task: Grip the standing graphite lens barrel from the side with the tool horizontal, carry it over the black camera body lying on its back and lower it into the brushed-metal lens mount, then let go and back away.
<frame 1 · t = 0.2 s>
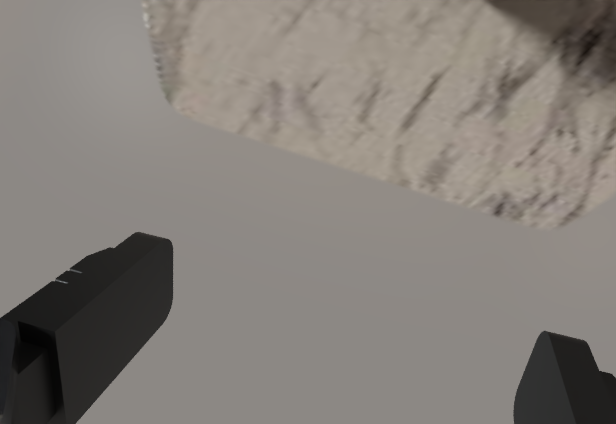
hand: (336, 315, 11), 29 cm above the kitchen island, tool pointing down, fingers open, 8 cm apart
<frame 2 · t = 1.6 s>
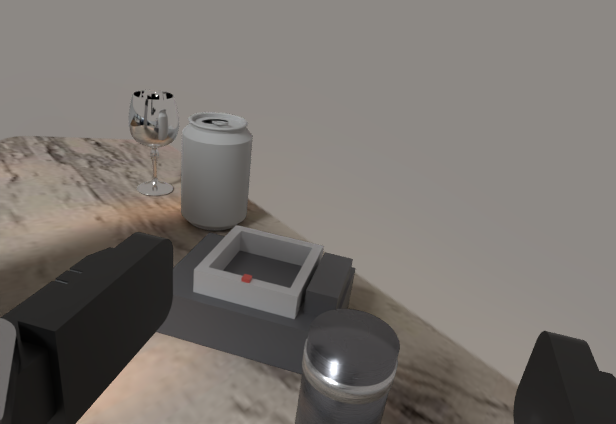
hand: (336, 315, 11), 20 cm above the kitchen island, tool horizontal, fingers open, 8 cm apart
camera body: (257, 316, 42), on the kitchen island
can: (214, 220, 57), on the kitchen island
wineglass: (155, 190, 63), on the kitchen island
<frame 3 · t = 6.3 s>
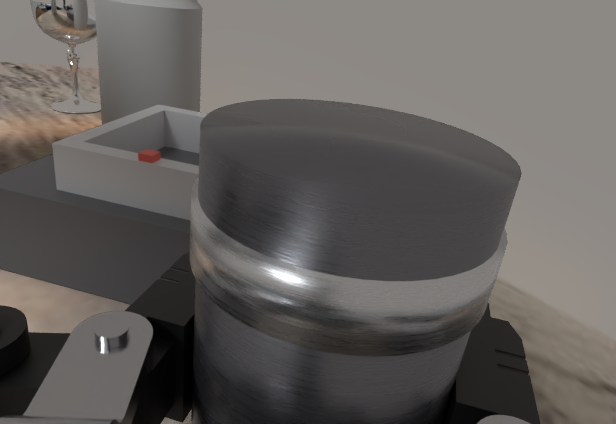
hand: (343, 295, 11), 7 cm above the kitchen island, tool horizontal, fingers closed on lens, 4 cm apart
camera body: (190, 250, 25), on the kitchen island
can: (152, 140, 40), on the kitchen island
wineglass: (77, 109, 46), on the kitchen island
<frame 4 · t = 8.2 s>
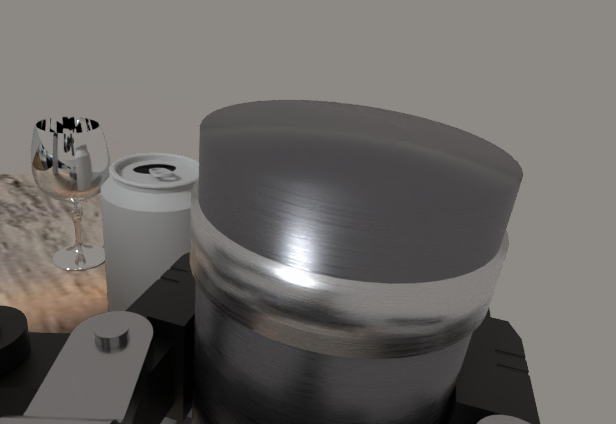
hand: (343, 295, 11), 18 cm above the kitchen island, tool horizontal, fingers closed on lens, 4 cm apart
can: (160, 312, 38), on the kitchen island
wineglass: (80, 258, 44), on the kitchen island
when the fingers open (11 cm above the kitchen island, at t = 10.6 s): lens stays where it is, resting on camera body.
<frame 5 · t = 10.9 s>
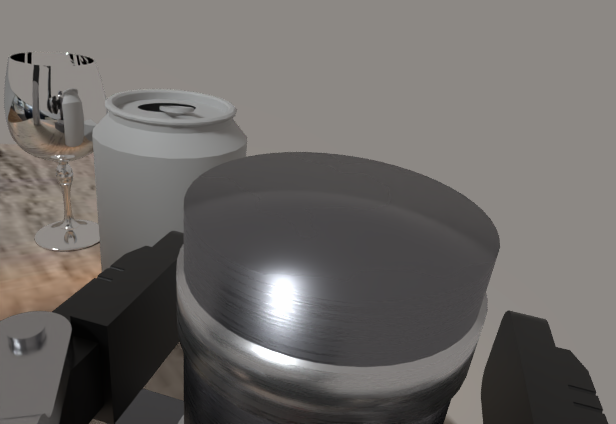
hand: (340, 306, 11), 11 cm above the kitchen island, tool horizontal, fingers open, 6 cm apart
can: (172, 303, 29), on the kitchen island
wineglass: (70, 237, 35), on the kitchen island
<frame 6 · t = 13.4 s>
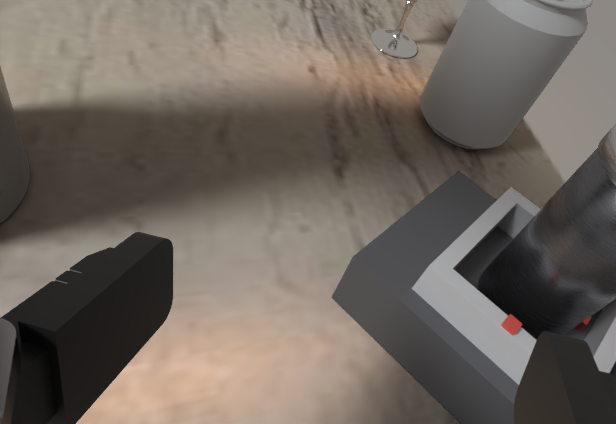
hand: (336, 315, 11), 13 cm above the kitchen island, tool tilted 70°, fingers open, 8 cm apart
camera body: (481, 335, 27), on the kitchen island
lens: (521, 302, 24), point 4 cm above the kitchen island, touching camera body
can: (458, 125, 39), on the kitchen island
wineglass: (393, 45, 45), on the kitchen island
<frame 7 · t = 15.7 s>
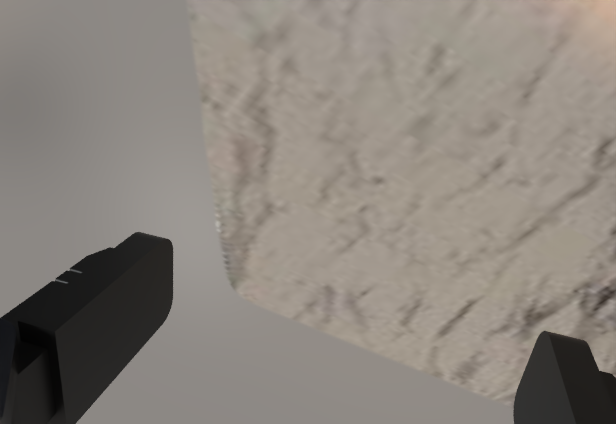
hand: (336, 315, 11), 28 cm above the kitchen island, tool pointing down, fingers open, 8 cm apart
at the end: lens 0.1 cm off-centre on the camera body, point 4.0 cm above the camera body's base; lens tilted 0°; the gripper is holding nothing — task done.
